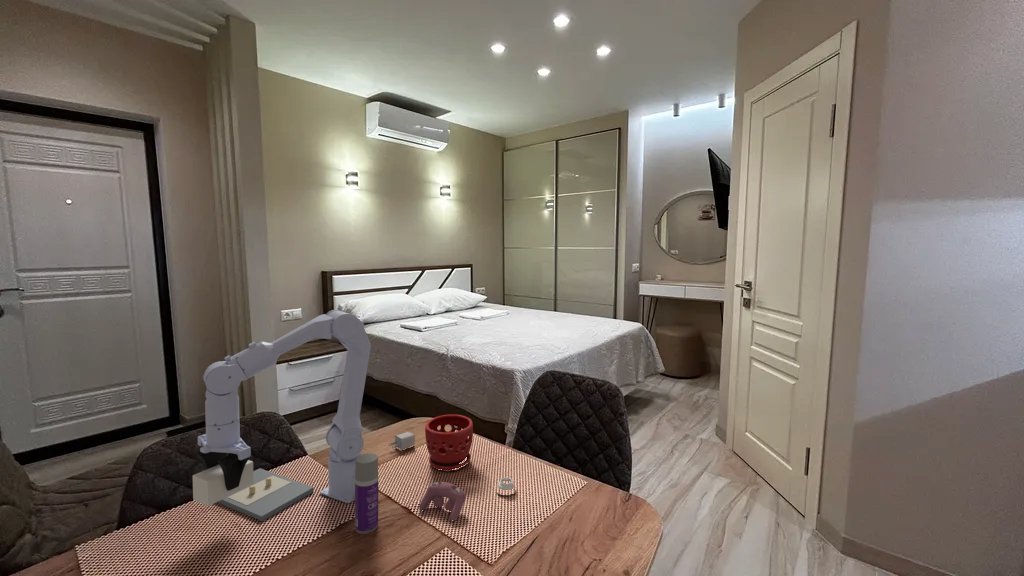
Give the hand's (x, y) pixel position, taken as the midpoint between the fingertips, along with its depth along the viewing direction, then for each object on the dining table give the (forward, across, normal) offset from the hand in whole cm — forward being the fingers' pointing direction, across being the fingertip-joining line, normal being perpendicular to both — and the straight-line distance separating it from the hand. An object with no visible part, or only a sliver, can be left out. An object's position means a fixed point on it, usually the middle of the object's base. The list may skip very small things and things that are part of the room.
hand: (224, 484), depth 86 cm
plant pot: (+10, +26, +45) cm, 52 cm away
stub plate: (+9, -5, +11) cm, 16 cm away
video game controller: (+10, +37, +26) cm, 46 cm away
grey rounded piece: (+10, +46, +39) cm, 61 cm away
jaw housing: (+1, 0, 0) cm, 1 cm away
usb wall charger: (+10, +8, +46) cm, 48 cm away
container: (+10, +26, +14) cm, 31 cm away
